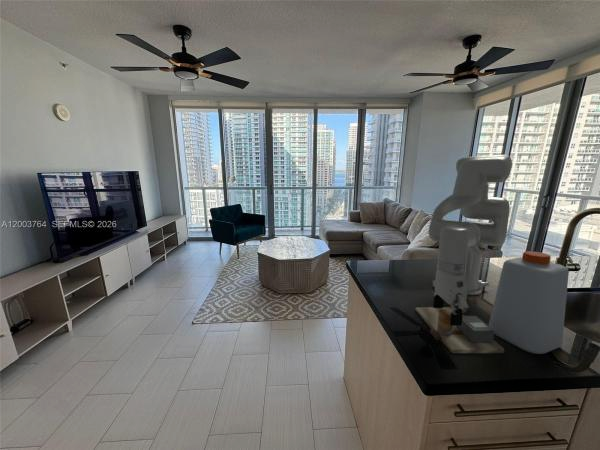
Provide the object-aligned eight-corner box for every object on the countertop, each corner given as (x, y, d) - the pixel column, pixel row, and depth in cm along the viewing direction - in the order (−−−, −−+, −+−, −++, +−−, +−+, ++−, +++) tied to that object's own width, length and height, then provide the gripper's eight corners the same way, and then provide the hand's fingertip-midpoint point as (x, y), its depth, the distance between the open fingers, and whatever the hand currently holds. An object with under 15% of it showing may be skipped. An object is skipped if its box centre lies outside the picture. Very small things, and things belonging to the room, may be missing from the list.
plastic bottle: (567, 346, 75) (586, 257, 69) (537, 359, 69) (554, 265, 64) (510, 320, 89) (522, 244, 83) (482, 329, 83) (492, 250, 78)
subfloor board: (458, 309, 96) (458, 306, 96) (509, 352, 72) (509, 348, 72) (411, 310, 96) (411, 307, 96) (447, 353, 72) (447, 349, 72)
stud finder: (474, 326, 83) (475, 315, 82) (492, 342, 75) (494, 329, 74) (456, 326, 83) (457, 315, 82) (472, 342, 75) (474, 329, 74)
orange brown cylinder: (446, 328, 82) (448, 309, 81) (454, 336, 78) (456, 316, 77) (434, 328, 82) (436, 309, 81) (441, 336, 78) (443, 316, 77)
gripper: (483, 277, 67) (476, 332, 71) (447, 256, 84) (443, 301, 88) (456, 277, 68) (450, 333, 71) (425, 256, 85) (421, 302, 88)
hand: (446, 315), depth 80 cm, fingers open, 9 cm apart
